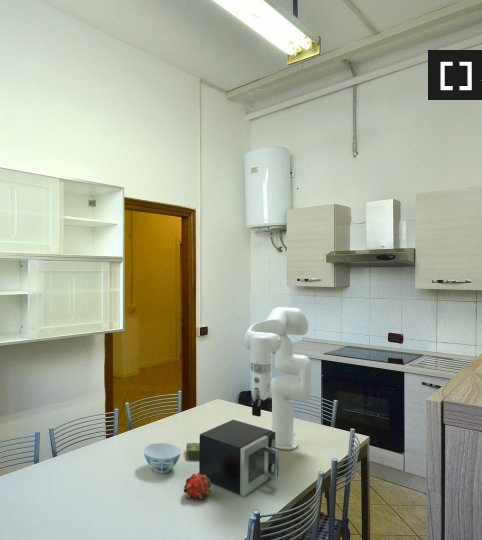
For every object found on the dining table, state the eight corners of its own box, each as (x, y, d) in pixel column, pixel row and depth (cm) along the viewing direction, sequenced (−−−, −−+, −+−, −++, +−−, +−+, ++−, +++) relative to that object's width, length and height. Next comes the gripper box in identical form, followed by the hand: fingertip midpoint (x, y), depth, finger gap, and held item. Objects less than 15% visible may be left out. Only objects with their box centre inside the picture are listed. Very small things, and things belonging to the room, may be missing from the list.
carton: (225, 460, 182) (225, 450, 182) (187, 460, 183) (187, 449, 183) (222, 452, 191) (222, 442, 191) (186, 451, 191) (186, 442, 191)
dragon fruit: (212, 496, 156) (187, 511, 149) (198, 475, 161) (173, 489, 155) (220, 484, 151) (194, 499, 145) (205, 463, 156) (180, 476, 150)
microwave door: (282, 484, 162) (282, 440, 162) (258, 502, 149) (259, 454, 149) (264, 478, 167) (264, 435, 167) (240, 494, 154) (240, 448, 154)
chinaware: (185, 465, 177) (185, 446, 177) (172, 481, 164) (172, 461, 164) (152, 458, 184) (152, 440, 184) (137, 473, 170) (137, 453, 170)
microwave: (277, 475, 170) (277, 432, 170) (245, 497, 153) (245, 449, 153) (232, 459, 184) (233, 419, 184) (199, 477, 167) (199, 434, 167)
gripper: (263, 373, 155) (263, 420, 155) (276, 365, 169) (276, 408, 169) (243, 370, 159) (243, 416, 159) (258, 362, 173) (257, 404, 173)
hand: (260, 412), depth 164 cm, fingers open, 9 cm apart
